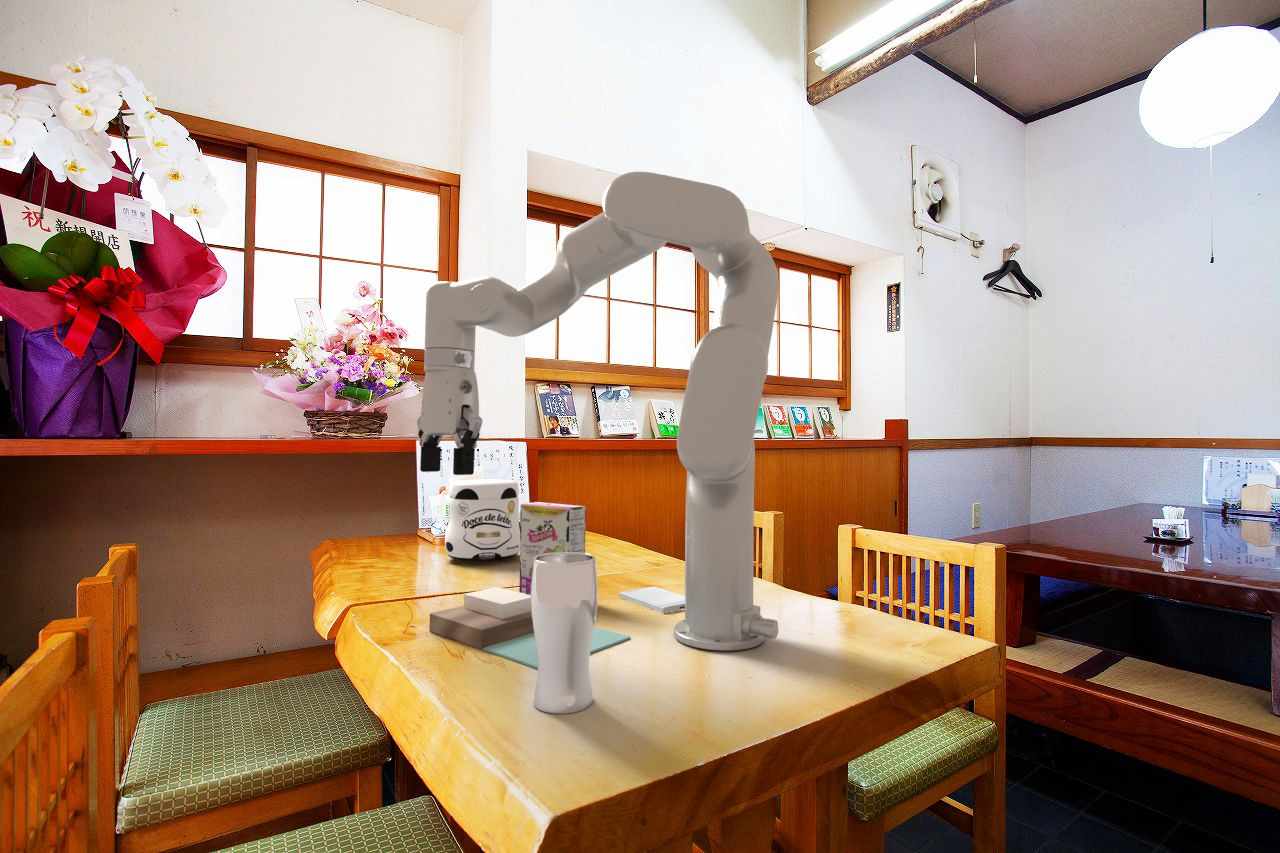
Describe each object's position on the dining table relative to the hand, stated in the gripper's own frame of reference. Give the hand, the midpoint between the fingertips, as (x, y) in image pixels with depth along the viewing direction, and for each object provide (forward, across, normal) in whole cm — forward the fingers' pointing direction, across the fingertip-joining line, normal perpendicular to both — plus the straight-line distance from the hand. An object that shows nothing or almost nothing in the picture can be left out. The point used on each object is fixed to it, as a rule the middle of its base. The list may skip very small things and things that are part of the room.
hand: (446, 473), depth 96 cm
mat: (+22, -23, -4) cm, 32 cm away
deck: (+22, -11, -3) cm, 25 cm away
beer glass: (+22, -38, +8) cm, 44 cm away
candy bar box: (+22, -4, -18) cm, 29 cm away
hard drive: (+22, -18, -30) cm, 42 cm away
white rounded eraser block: (+20, -10, -3) cm, 22 cm away
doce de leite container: (+23, +36, -31) cm, 53 cm away
